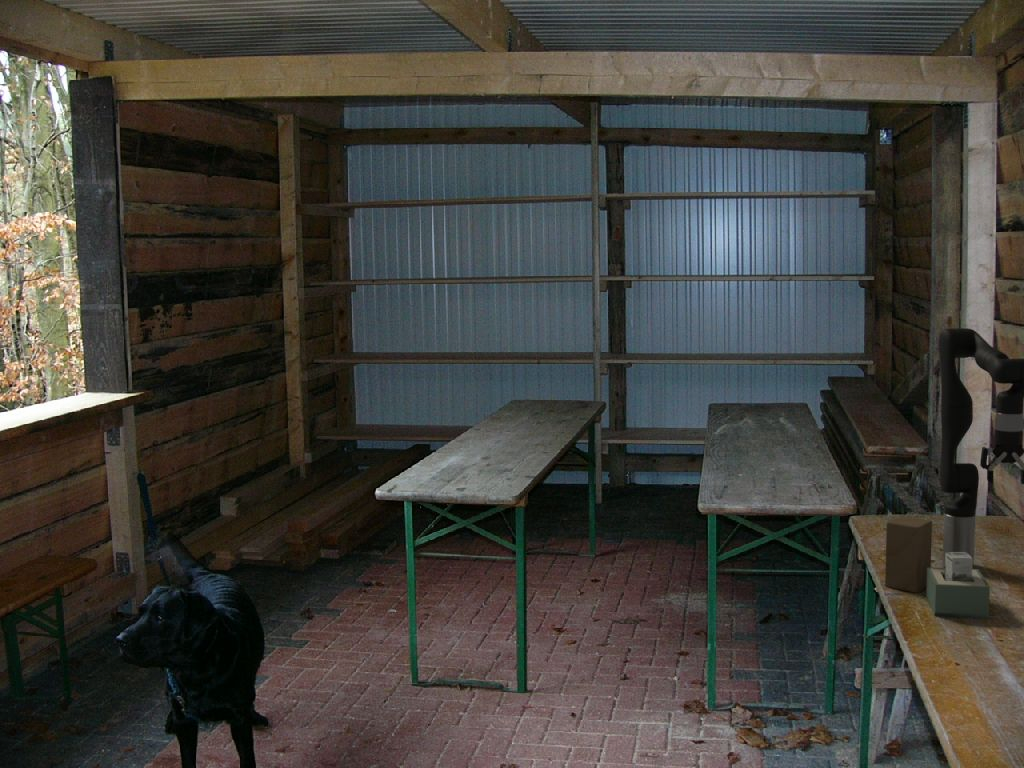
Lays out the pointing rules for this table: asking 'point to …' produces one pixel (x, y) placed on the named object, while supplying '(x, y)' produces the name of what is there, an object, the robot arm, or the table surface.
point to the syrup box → (958, 567)
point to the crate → (957, 595)
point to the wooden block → (908, 553)
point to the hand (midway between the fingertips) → (1006, 483)
